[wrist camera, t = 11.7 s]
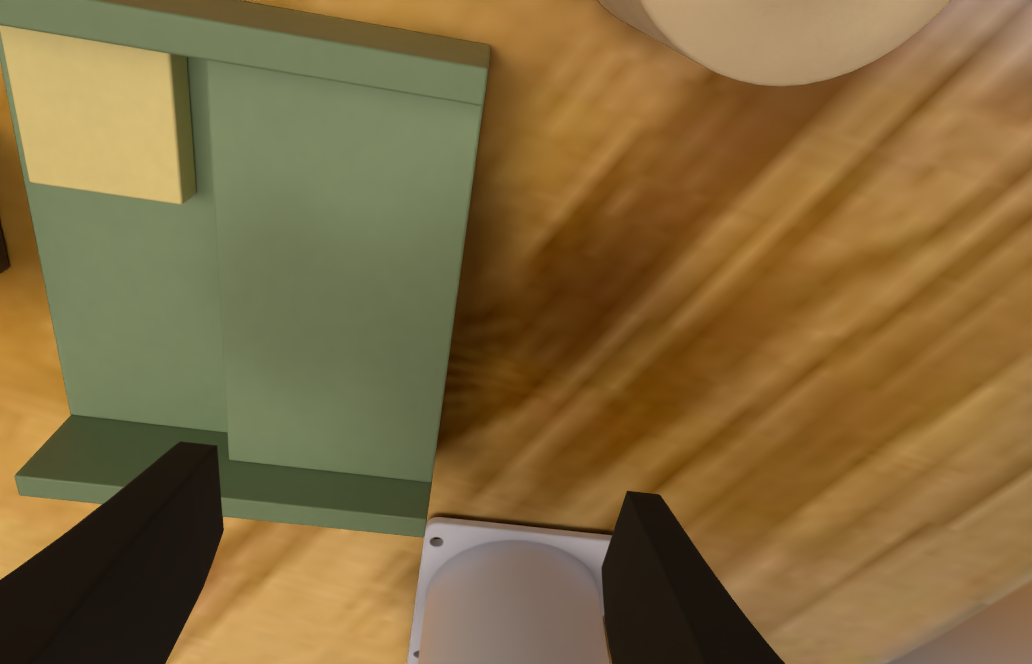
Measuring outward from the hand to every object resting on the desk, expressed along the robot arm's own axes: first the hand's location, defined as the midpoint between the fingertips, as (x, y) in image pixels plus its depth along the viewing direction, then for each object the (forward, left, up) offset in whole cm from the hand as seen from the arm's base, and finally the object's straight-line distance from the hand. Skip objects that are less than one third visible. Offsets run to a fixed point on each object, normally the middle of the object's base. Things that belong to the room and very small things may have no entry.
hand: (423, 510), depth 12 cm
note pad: (+4, +9, -9) cm, 13 cm away
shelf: (0, +6, -10) cm, 12 cm away
